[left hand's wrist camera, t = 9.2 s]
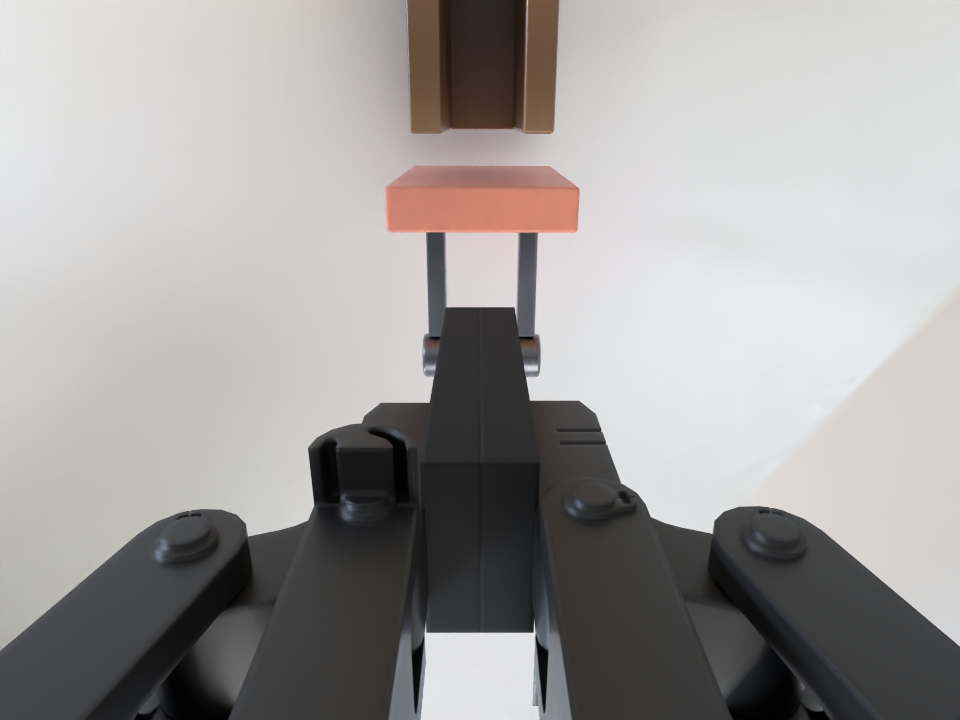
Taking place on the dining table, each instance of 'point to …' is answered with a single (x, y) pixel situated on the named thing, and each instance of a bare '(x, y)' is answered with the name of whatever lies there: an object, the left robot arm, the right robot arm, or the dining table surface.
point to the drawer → (482, 105)
